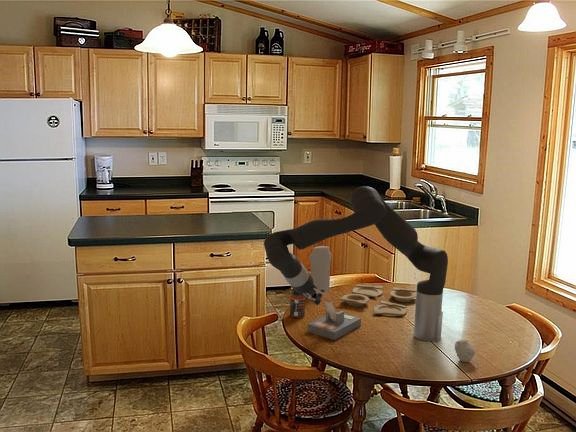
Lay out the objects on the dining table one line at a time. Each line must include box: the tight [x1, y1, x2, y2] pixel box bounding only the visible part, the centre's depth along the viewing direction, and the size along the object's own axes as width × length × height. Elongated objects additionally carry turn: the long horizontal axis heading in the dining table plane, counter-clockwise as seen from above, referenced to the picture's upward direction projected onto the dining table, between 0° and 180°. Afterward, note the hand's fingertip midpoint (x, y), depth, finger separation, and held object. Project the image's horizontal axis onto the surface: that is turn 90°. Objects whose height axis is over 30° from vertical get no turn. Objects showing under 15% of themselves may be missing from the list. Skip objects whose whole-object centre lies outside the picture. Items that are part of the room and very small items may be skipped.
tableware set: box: [338, 284, 417, 318], centre depth 240 cm, size 35×29×4 cm
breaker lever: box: [320, 292, 337, 321], centre depth 204 cm, size 4×2×14 cm
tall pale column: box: [309, 245, 332, 293], centre depth 246 cm, size 11×4×22 cm, turn 112°
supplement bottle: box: [289, 289, 306, 319], centre depth 220 cm, size 6×6×11 cm
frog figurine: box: [454, 339, 476, 363], centre depth 183 cm, size 6×7×7 cm
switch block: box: [306, 309, 362, 341], centre depth 208 cm, size 12×18×7 cm, turn 142°
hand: (318, 302), depth 197 cm, fingers closed
